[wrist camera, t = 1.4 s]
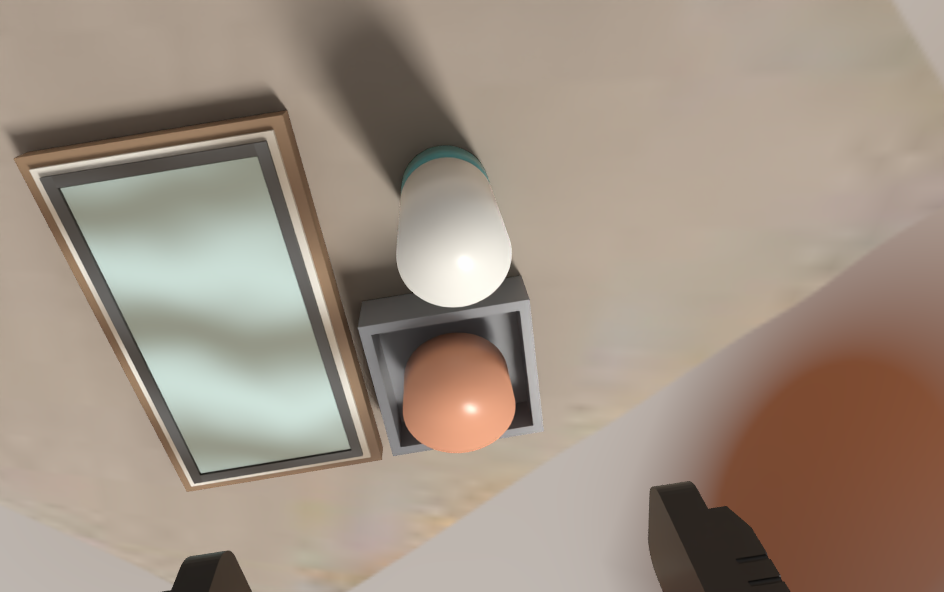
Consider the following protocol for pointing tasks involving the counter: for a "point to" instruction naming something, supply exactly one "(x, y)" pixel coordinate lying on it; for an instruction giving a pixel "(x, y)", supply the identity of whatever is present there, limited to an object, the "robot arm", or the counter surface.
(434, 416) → the button
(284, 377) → the framed mirror
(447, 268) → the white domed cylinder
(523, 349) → the button housing
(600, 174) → the counter surface
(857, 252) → the counter surface
